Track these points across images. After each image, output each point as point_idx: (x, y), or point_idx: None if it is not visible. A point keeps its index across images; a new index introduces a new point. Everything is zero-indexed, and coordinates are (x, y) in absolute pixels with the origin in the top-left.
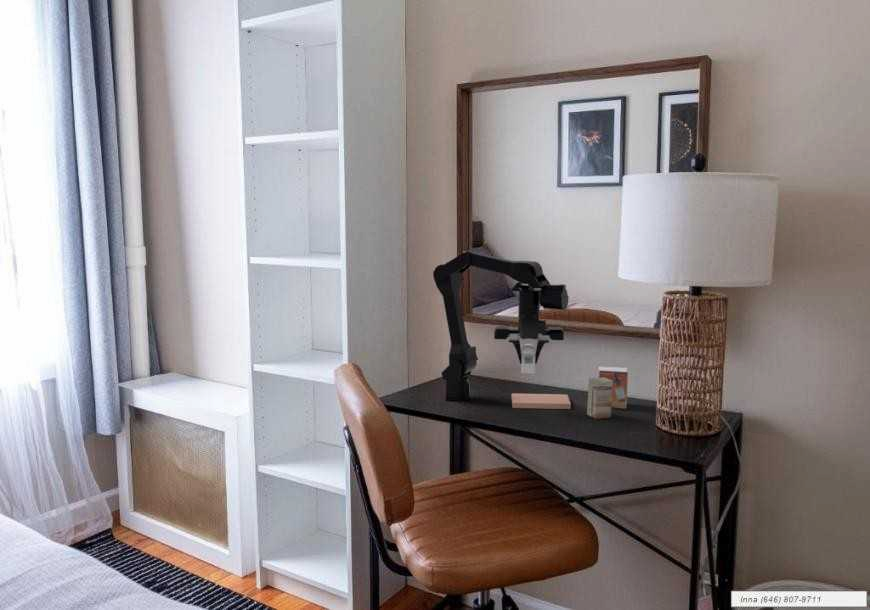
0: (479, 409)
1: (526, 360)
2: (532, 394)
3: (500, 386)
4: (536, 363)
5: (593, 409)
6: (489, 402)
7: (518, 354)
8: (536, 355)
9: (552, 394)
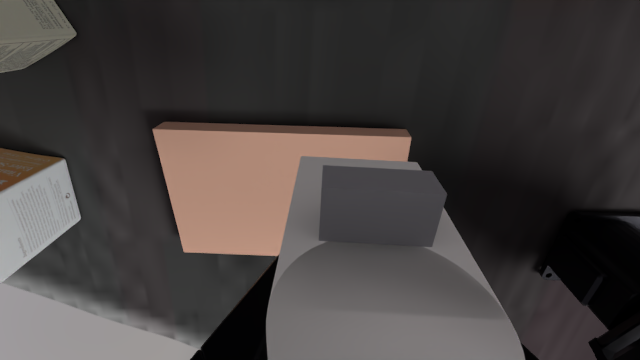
0: (560, 102)
1: (415, 188)
2: None
3: None
4: (276, 257)
5: None
6: (482, 201)
7: None
8: (259, 322)
9: (237, 251)
